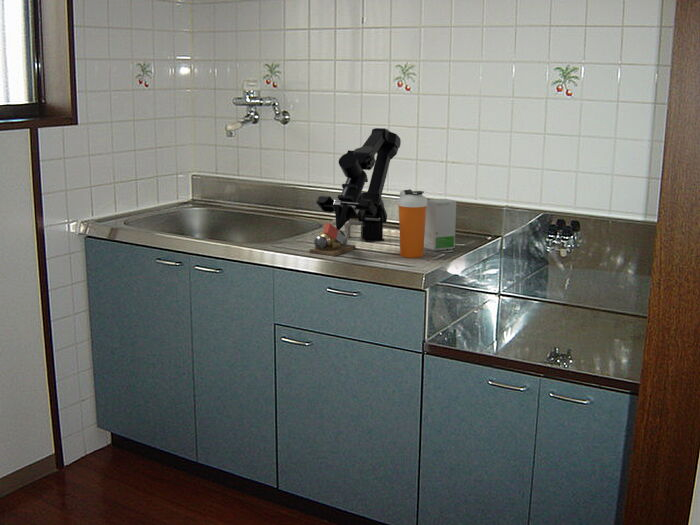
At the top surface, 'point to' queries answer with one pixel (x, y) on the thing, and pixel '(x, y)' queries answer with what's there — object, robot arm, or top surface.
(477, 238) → the top surface
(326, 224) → the valve lever
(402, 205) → the shaker bottle
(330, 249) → the valve stand
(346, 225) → the pipe connector
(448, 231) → the skincare box
